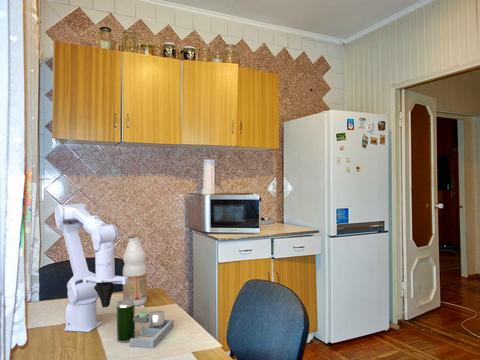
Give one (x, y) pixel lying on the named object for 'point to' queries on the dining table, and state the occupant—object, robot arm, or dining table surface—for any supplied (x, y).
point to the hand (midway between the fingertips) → (105, 306)
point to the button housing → (142, 319)
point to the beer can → (125, 320)
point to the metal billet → (156, 319)
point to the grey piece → (152, 335)
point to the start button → (143, 315)
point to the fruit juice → (135, 271)
